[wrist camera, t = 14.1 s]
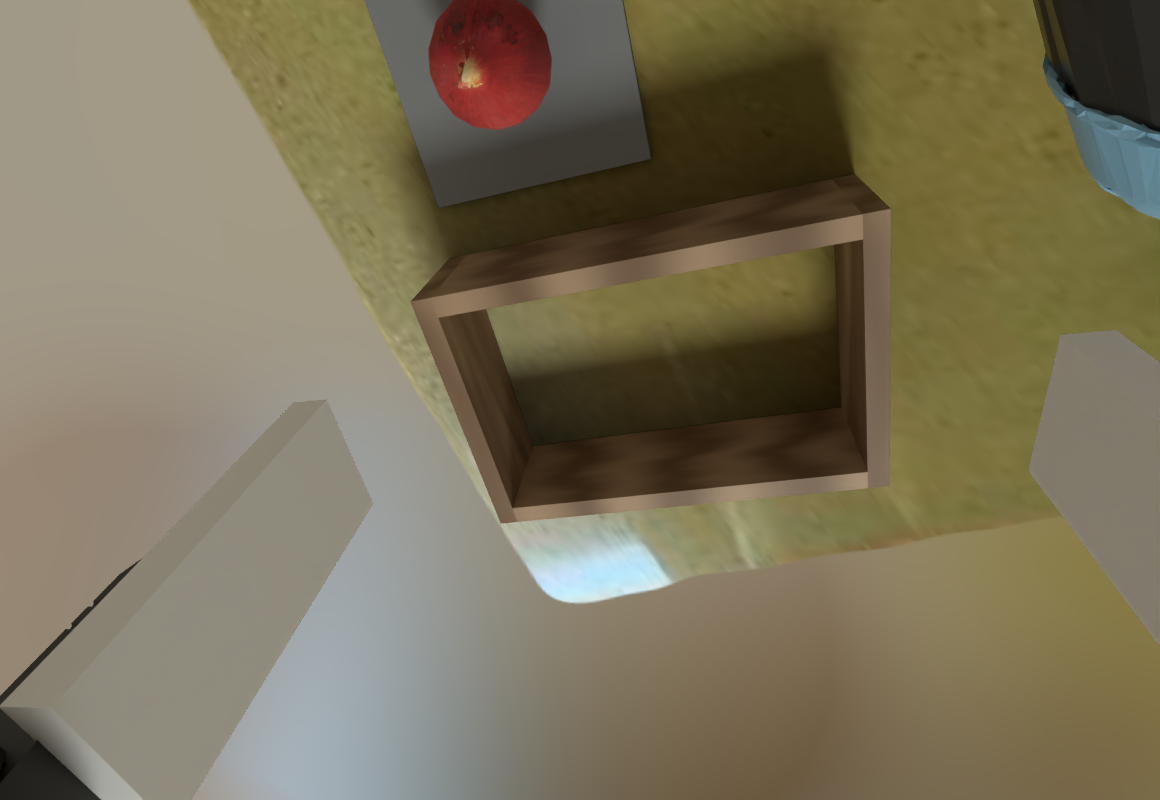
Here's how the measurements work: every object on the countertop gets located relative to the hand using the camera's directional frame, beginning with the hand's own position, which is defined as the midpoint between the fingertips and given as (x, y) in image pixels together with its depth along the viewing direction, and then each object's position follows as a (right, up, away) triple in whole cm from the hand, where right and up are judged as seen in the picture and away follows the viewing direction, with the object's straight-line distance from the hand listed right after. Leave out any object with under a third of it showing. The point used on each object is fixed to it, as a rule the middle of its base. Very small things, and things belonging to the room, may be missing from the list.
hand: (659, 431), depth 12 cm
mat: (-5, +19, +22) cm, 29 cm away
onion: (-5, +19, +21) cm, 29 cm away
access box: (+4, +4, +30) cm, 30 cm away
